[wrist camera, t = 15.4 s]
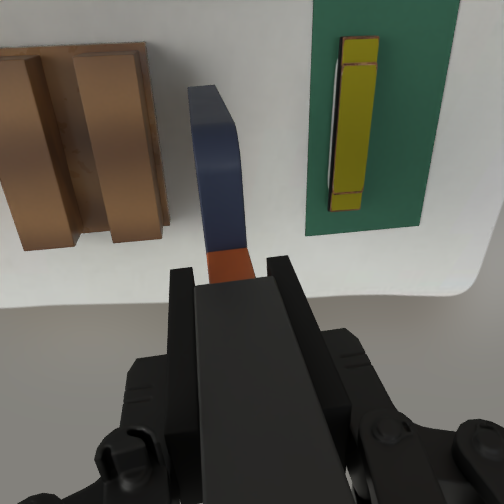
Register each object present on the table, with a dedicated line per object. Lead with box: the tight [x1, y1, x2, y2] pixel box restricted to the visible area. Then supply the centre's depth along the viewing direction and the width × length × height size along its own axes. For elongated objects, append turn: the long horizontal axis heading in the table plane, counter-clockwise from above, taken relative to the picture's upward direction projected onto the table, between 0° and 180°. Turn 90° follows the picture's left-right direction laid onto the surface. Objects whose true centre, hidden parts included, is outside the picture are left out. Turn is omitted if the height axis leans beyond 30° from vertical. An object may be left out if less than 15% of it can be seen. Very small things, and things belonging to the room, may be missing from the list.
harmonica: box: [327, 36, 380, 212], centre depth 37 cm, size 15×3×2 cm, turn 1°
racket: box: [188, 85, 356, 504], centre depth 17 cm, size 11×3×27 cm, turn 3°
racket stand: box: [0, 42, 170, 251], centre depth 33 cm, size 15×12×5 cm
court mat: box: [305, 0, 460, 236], centre depth 38 cm, size 12×21×1 cm, turn 1°
